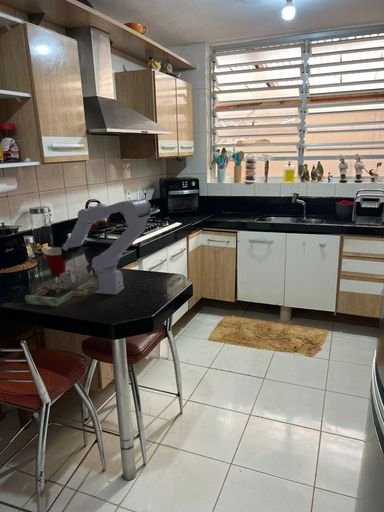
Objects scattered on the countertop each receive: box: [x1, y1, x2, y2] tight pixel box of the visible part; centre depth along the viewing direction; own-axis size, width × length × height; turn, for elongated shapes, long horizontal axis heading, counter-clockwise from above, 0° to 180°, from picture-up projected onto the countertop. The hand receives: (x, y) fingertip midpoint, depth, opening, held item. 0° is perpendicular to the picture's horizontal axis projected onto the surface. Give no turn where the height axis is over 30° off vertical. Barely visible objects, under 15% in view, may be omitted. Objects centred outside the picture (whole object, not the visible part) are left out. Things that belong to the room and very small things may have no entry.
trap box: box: [24, 282, 90, 307], centre depth 152 cm, size 22×22×3 cm
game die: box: [54, 269, 79, 293], centre depth 157 cm, size 9×8×10 cm
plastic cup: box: [43, 247, 67, 277], centre depth 177 cm, size 11×11×12 cm
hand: (68, 254), depth 161 cm, fingers open, 7 cm apart
